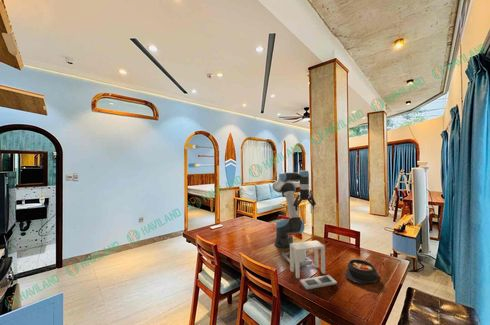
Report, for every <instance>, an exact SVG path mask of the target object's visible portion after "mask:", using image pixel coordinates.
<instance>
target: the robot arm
mask: <svg viewBox="0 0 490 325" xmlns="http://www.w3.org/2000/svg"><path fill="white" fill-rule="evenodd" d="M294 182H299V194H296V192H297V191H296V189H297V187H296V184H295V183H294ZM309 184H310V173H309V171H308V170H299V171H297V172H280V173H279V174H278V179H277V180H275V181H274V182H273V183H272V189H273V190H274V191H275V192H276V193H279V194H281V193H282V194H283V196H284V197H285V200H286V206H287V211H288V216H289V218H288V219H287V218H281V219H277V220H276V222H275V231H276V232H275V233H276V234H275V239H274V244H273V245H274V246H275V247H276V248H281V249H286V248H289V236H290V235H292V234H302V233H303V232H304V231H305V222H304V219H302V218H301V217H300V216H299V212H300V211H299V205H300V204H301V203H302V202H303V201H307V202H308V203H309V204H310V214H313V215H314V210H315V206H316V204H317V203H316V200H315V198H314V197H313V194H312V193H310V189H309V188H310V185H309ZM295 194H296V195H295ZM295 196H296V198H295ZM289 234H290V235H289Z"/></svg>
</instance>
